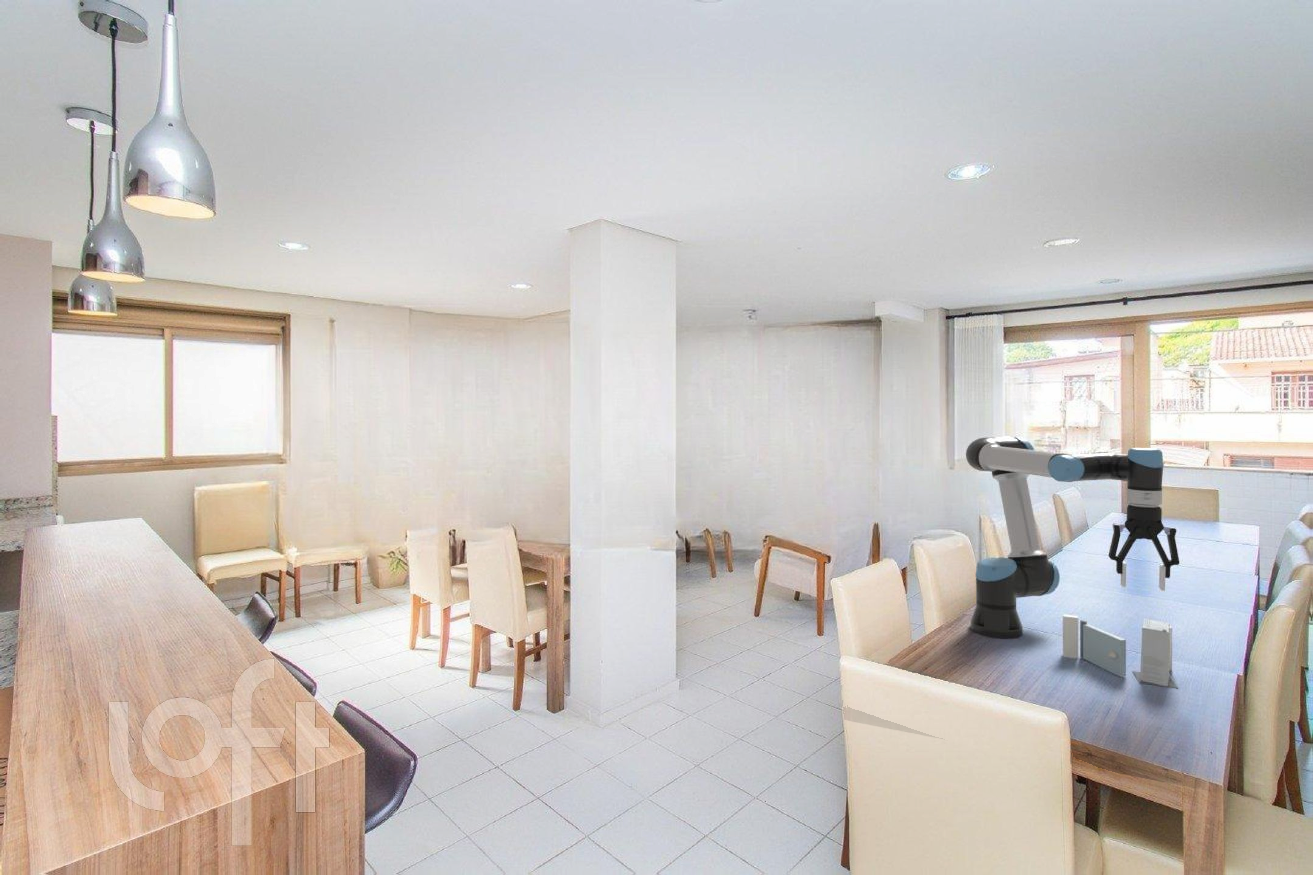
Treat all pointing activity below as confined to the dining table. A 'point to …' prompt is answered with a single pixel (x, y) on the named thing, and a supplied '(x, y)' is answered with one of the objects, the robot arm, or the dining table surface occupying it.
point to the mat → (1170, 683)
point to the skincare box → (1155, 652)
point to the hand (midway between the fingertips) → (1142, 587)
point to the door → (1103, 649)
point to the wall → (1072, 638)
